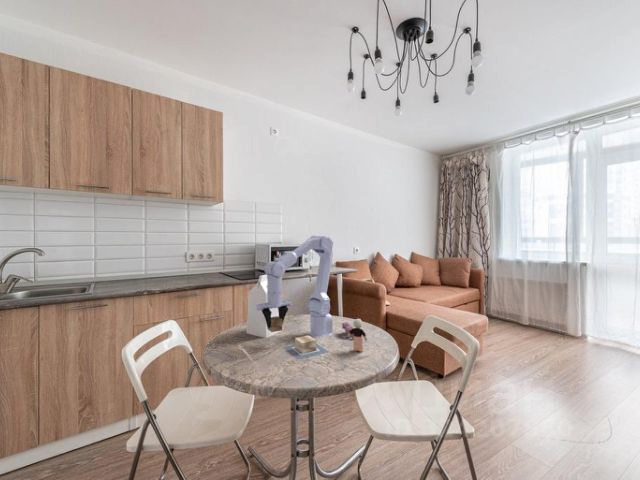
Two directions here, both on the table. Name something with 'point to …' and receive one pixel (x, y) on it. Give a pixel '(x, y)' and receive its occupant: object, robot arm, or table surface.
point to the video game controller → (347, 328)
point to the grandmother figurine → (358, 335)
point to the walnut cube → (275, 324)
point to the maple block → (305, 344)
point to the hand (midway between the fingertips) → (274, 326)
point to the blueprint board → (299, 355)
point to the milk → (255, 317)
